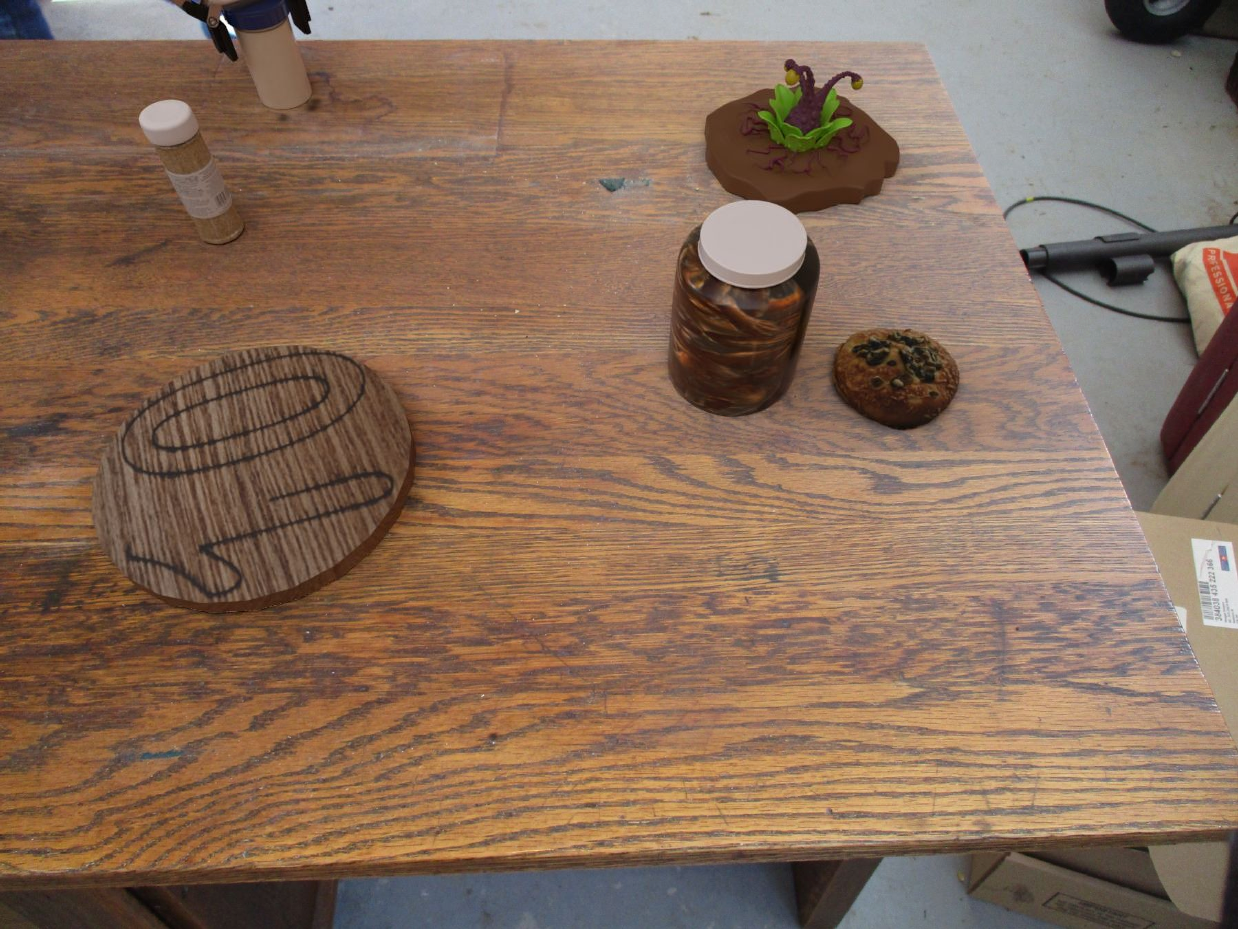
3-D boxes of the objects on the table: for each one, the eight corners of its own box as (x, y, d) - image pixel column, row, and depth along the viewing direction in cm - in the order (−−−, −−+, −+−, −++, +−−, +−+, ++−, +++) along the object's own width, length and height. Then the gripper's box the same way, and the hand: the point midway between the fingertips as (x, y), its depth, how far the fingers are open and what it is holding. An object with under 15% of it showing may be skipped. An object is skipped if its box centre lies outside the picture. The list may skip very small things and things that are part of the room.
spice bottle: (220, 211, 87) (162, 92, 76) (254, 225, 86) (201, 105, 75) (189, 238, 85) (125, 118, 73) (224, 252, 84) (164, 132, 72)
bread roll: (877, 448, 70) (891, 405, 66) (803, 369, 77) (812, 326, 73) (981, 408, 73) (999, 364, 69) (901, 336, 80) (914, 293, 76)
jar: (811, 407, 73) (852, 280, 60) (681, 424, 72) (695, 299, 59) (775, 311, 79) (805, 178, 67) (655, 325, 78) (663, 193, 66)
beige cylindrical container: (250, 95, 99) (214, 4, 90) (291, 74, 101) (261, -17, 92) (280, 115, 96) (247, 24, 88) (322, 93, 99) (294, 2, 90)
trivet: (458, 535, 66) (454, 522, 64) (126, 669, 59) (113, 659, 58) (367, 325, 78) (361, 310, 76) (85, 417, 72) (73, 404, 70)
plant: (672, 132, 95) (678, 35, 86) (814, 88, 100) (834, -8, 91) (767, 238, 85) (786, 142, 76) (919, 183, 90) (954, 86, 81)
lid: (274, 33, 89) (268, 16, 87) (213, 27, 89) (206, 9, 88) (300, 0, 92) (295, -17, 91) (241, -6, 93) (235, -23, 92)
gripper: (128, -99, 74) (207, 84, 89) (306, -148, 80) (352, 30, 95) (98, -127, 78) (179, 54, 92) (271, -173, 84) (321, 4, 98)
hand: (267, 41), depth 93 cm, fingers open, 8 cm apart
